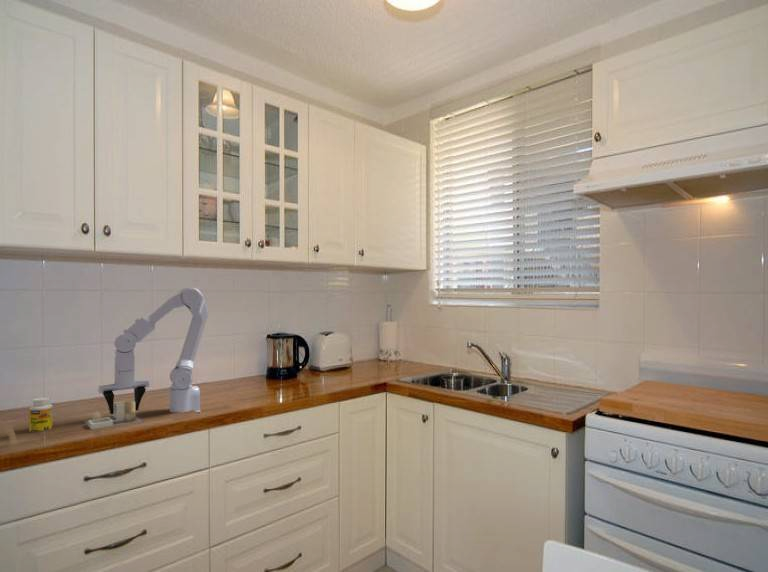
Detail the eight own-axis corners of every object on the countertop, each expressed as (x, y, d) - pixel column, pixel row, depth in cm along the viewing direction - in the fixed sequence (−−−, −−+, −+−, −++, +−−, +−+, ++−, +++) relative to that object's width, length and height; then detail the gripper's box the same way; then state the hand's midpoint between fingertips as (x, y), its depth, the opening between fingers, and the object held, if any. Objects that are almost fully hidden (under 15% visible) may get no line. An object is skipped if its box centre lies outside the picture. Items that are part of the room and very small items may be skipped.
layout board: (131, 416, 155) (132, 404, 155) (142, 424, 145) (142, 411, 145) (83, 424, 146) (83, 411, 146) (91, 433, 136) (91, 419, 136)
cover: (131, 413, 155) (131, 400, 155) (135, 416, 151) (135, 403, 151) (112, 416, 151) (113, 403, 151) (116, 419, 147) (116, 405, 147)
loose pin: (133, 419, 148) (133, 400, 148) (136, 421, 145) (136, 402, 146) (123, 420, 146) (123, 401, 146) (125, 422, 143) (125, 403, 144)
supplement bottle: (26, 436, 133) (26, 401, 133) (32, 431, 138) (32, 397, 138) (49, 434, 135) (50, 399, 136) (54, 429, 140) (55, 396, 141)
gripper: (145, 366, 159) (144, 405, 159) (96, 371, 149) (96, 413, 149) (151, 369, 154) (150, 409, 154) (101, 374, 144) (100, 417, 144)
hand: (124, 411), depth 151 cm, fingers open, 7 cm apart
